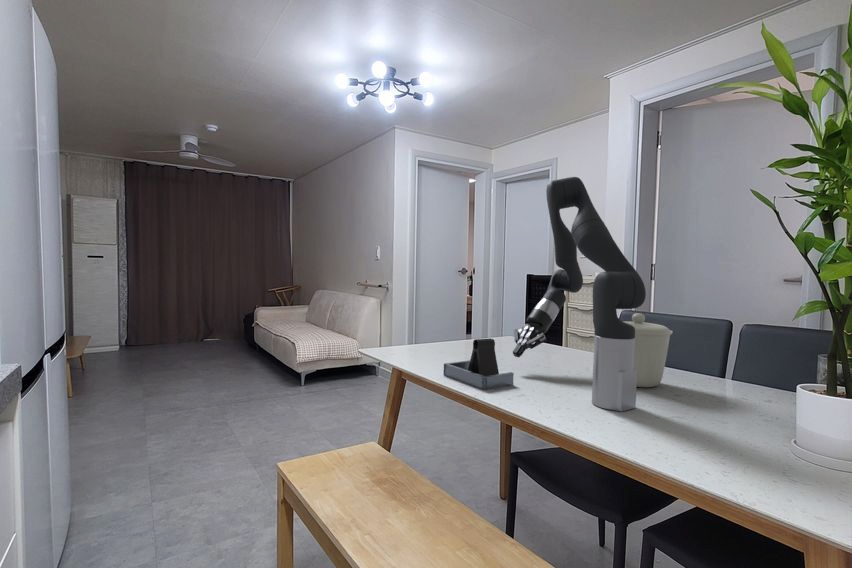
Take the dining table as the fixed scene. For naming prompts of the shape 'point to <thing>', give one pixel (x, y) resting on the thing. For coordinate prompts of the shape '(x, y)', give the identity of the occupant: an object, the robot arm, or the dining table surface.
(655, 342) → the canister
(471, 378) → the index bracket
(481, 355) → the black folding stand
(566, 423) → the dining table surface
